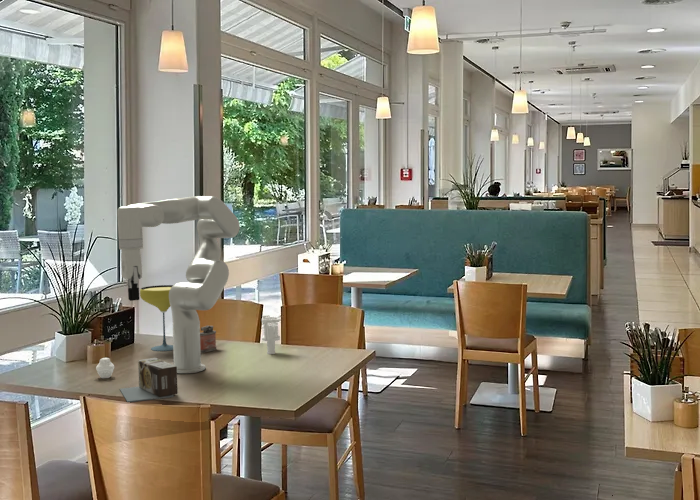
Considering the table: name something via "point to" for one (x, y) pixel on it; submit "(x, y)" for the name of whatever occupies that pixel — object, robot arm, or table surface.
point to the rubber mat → (139, 394)
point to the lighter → (207, 339)
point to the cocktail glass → (159, 299)
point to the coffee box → (157, 377)
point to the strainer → (270, 332)
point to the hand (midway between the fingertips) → (134, 299)
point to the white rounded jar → (105, 368)
